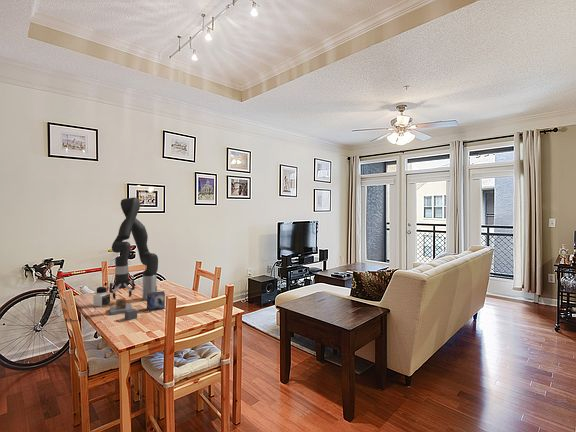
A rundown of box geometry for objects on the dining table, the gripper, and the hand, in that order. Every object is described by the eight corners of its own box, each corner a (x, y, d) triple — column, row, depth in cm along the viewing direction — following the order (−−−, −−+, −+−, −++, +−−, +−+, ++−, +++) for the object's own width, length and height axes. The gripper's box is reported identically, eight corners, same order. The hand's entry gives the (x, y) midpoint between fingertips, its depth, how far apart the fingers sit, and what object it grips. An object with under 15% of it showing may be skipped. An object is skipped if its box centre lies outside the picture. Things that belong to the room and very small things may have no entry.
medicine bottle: (102, 306, 210) (102, 288, 210) (93, 305, 211) (93, 288, 211) (110, 303, 217) (110, 286, 217) (101, 302, 218) (101, 285, 218)
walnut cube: (124, 306, 206) (125, 298, 206) (125, 308, 202) (125, 300, 202) (116, 307, 203) (116, 299, 203) (116, 309, 199) (116, 301, 199)
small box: (147, 311, 203) (147, 295, 202) (146, 308, 209) (146, 292, 208) (164, 309, 208) (165, 293, 207) (163, 306, 213) (163, 290, 213)
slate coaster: (130, 306, 211) (130, 303, 211) (132, 312, 201) (132, 308, 201) (109, 309, 204) (109, 306, 204) (110, 315, 194) (110, 311, 194)
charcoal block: (133, 316, 193) (133, 308, 193) (137, 318, 190) (137, 310, 190) (124, 318, 189) (124, 310, 189) (128, 320, 186) (128, 312, 186)
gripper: (133, 270, 209) (133, 294, 209) (108, 272, 201) (109, 298, 202) (134, 272, 202) (135, 297, 203) (109, 275, 195) (110, 301, 195)
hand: (122, 297), depth 202 cm, fingers open, 8 cm apart
